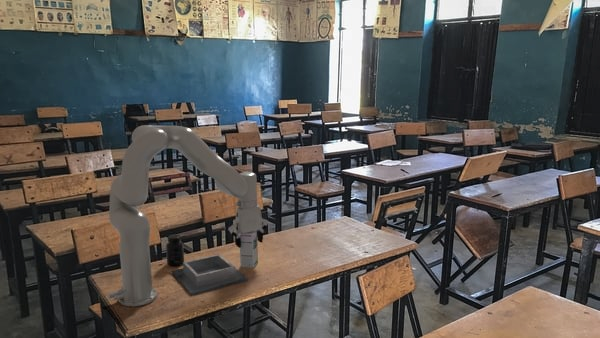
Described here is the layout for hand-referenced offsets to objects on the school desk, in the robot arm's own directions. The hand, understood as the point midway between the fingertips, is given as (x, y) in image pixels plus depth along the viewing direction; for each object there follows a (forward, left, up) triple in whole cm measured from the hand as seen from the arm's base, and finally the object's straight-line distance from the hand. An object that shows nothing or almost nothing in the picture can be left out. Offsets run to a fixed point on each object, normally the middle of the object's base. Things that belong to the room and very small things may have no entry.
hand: (249, 243), depth 182 cm
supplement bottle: (-25, +17, -9) cm, 32 cm away
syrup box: (0, 0, -9) cm, 9 cm away
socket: (-18, -2, -9) cm, 21 cm away
